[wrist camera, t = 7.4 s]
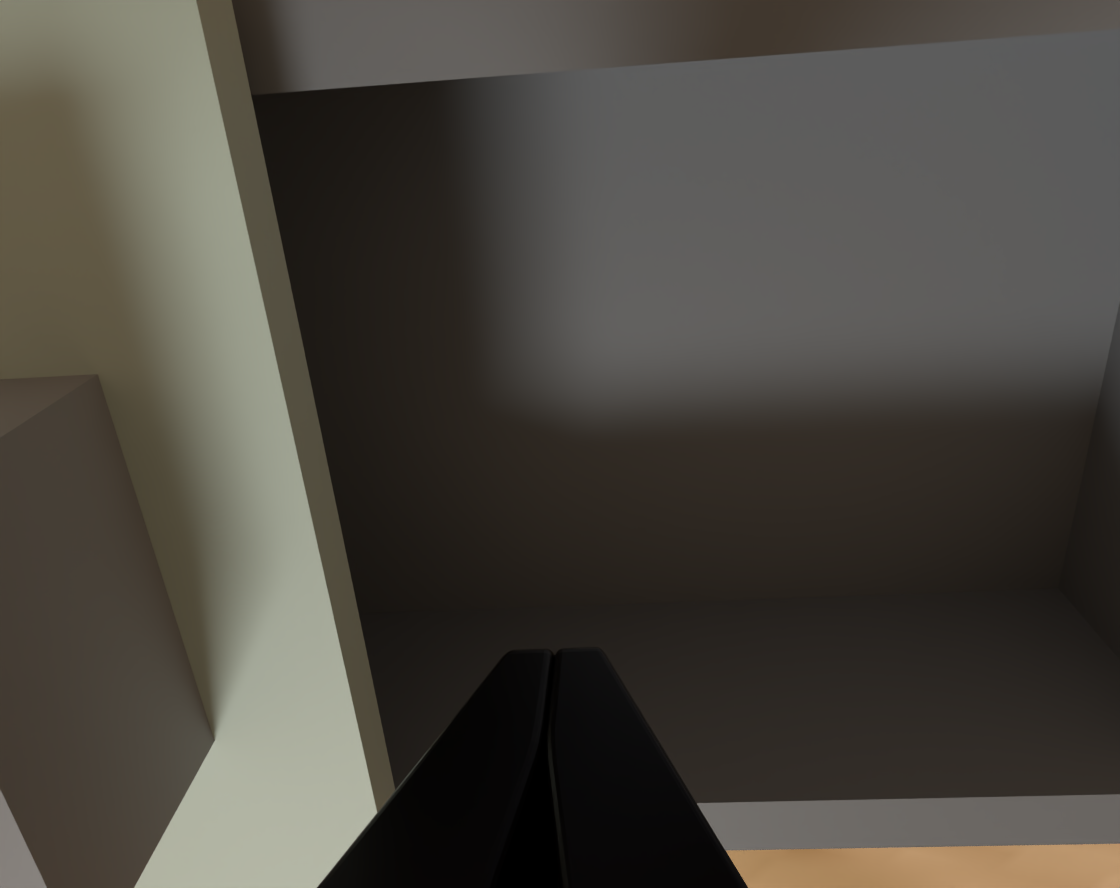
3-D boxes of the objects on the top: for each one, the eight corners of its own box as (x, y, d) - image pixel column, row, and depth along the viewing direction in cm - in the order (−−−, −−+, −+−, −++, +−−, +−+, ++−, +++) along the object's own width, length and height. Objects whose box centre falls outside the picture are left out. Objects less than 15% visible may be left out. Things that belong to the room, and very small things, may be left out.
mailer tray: (1223, -60, 13) (1691, -141, 7) (1075, 598, 18) (1287, 840, 12) (-39, 42, 14) (-440, 39, 9) (156, 631, 19) (-19, 863, 14)
